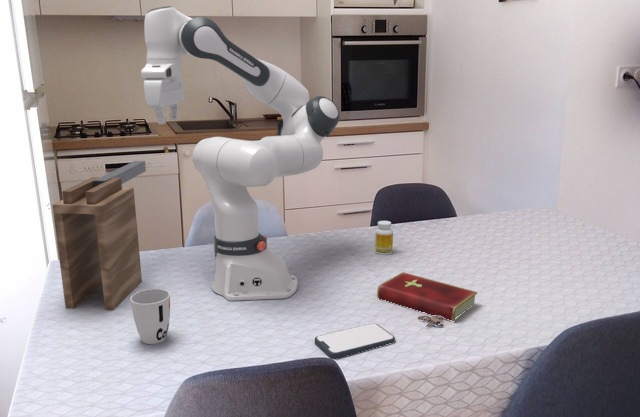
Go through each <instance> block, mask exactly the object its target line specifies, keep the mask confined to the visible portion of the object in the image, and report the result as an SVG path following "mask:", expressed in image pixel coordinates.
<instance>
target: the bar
mask: <svg viewBox="0 0 640 417" xmlns="http://www.w3.org/2000/svg"><path fill="white" fill-rule="evenodd" d="M146 170H147V169H146V161H145V160H134V161H132V162H129V163H128V164H125V165H124V166H121V167H119V168H117V169H115V170H113V171H111V172H109V173H106V174H104V175H102V176H101V177H100V178H98V179H96V180H94V187H96V186H98V185H100V184H102V183H104V182H106V181H108V180H110V179H112V178H121V183H122V185H123V184H124V183H126V182H128V181H131V180H132V179H134V178H136V177H138V176H139V175H142V174H143V173H145V172H146Z"/></svg>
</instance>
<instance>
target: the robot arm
mask: <svg viewBox="0 0 640 417" xmlns="http://www.w3.org/2000/svg"><path fill="white" fill-rule="evenodd" d="M144 15H145V16H144V25H143V27H144V28H143V31H144V33H143V34H144V42H145V43H144V44H145V46H146V58H145V60H146V64H145V66H144V67H143V68H142V69H141V71H140V72H141V75H140V76H141V78H142V79H144V80H143V91H144V97H145V104H146V105H147V108H148V109H154V114H155V116H156V120H157V124H158V125H164V124H166V123H167V121H166V120H167V119H166V116H165V113H164V111H165V107H168V106H169V107H170V110H169V120H170V121H175V120H178V112H179V103H183V102H184V100H185V92H184V85H183V79H182V61H181V56H182V55H186V56H189V57H193V58H198V59H206V60H212V61H215V62H217V63H219V64H220V65H222V66H223V67H225V68H226V69H228V70H229V71H231V72H232V73H234V74H236V75H237V76H239V77H240V78H241V79H242V80H243V82H244V86H245V90H246V91H247V92H249V93H250V95H251V96H253V97H254V98H255V99H256V100H258V101H259V102H260V103H263V104H264V105H266V106H268V107H269V108H271V109H274V110H275V111H277V112H278V114H280V115H281V118H282V119H280V120H278V121H277V122H276V128H277V129H276V133H275V135H272V136H264V137H262V138H261V139H260V140H259V139H258V140H247V139H246V140H245V139H238V138H230V137H224V136H212V137H211V136H210V137H206V138H204V139H202V140H200V141H199V142H197V144H196V145H195V147H194V149H193V152H192V163H193V167H194V168H195V169H196V170H197V172H198V173H199V174H200V176H201V177H202V179H203V181H204V183H205V185H206V188H207V190H208V194H209V196H210V199H211V203H212V209H213V216H214V228H215V230H214V231H215V235H214V236H213V237H214V238H213V251H214V256H215V265H214V266H215V268H214V269H215V270H214V277H213V282H212V286H211V289H212V291H213V292H214V293H216V294H218V295H220V296H222V297H224V298H225V300H227V301H230V302H231V301H232V302H233V301H254V300H256V301H257V300H276V299H277V300H278V299H287V298H289V297H292V296H293V295H294V294H295V293H296V291H297V290H298V287H299V282H298V278H297V276H295V275H294V274H290V271H289V266H288V263H287V261H286V260H285V259H284V258H283V257H282V256H280V255H278V254H276V253H275V252H274V251H273V250H271V249H270V248H268V242H267V240H268V238H267V237H268V236H267V234H265V235H262V234H261V233H260V232H259V231H260V230H259V228H260V227H259V207H258V205H257V202H256V201H255V199H254V198H253V196H251V194H250V193H249V192H250V191H248V189H247V188H259V187H266V186H268V185H270V184H271V183H272V182H273V181H274V180H275V179H277V178H283V177H292V176H296V175H301V174H304V173H307V172H310V171H312V170H314V169H316V168H318V167H319V166H320V164H321V163H322V161H323V156H324V150H323V147H322V144H321V142H322V141H323V140H324V139H326V137H329V136H330V135H331V134H332V132H333V131H334V130H335V128H336V127H337V125H338V123H339V121H340V115H341V114H340V110H339V108H338V106H337V105H336V104H335V102H333V101H332V100H331V99H330V98H329V97H328V98H327V97H326V96H323V95H317V96H315V97H313V98H311V99H310V93H309V92H310V91H308V89H307V88H306V87H305V86H304V85H303V84H302V83H301V82H300V81H298V79H296V78H295V77H293V75H291V74H289V73H288V72H287V71H285V70H284V69H282V68H280V67H278V66H277V65H275V64H273V63H270V62H267V61H266V60H262V59H259V58H257V57H254V56H252V55H251V54H250V53H248V52H247V51H245V50H244V49H243V48H241V47H239V46H238V45H236V44H235V43H233V42H232V41H231V40H229V39H228V38H227V37H226V36H225V34H224V32H223V31H222V30H221V28H220V27H219V26H218V24H217V23H216V22H215V21H214V20H213V19H210V18H208V17H204V16H197V17H193V18H192V17H191V16H187V15H185V14H183V13H182V12H180V11H178V10H177V9H176V8H175V7H173V6H172V5H171V6H170V5H168V6H161V7H159V6H158V7H155V8H152V9H150V10H148V11H147V12H146V14H144Z"/></svg>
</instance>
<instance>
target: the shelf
mask: <svg viewBox="0 0 640 417" xmlns="http://www.w3.org/2000/svg"><path fill="white" fill-rule="evenodd" d="M98 178H100V177H99V176H98V177H95V176H93V177H90V178H88V179H86V180H83V181H81V182H79V183H77V184H75V185H73V186H70V187H69V188H67V189H64V190H62V193H61V194H62V200H60V201H58V202H56V203H55V202H54V203H53V204H52V212H53V213H52V214H53V220H54V227H55V237H56V243H57V251H58V260H59V268H60V275H61V283H62V284H61V285H62V290H63V296H64V306H65V307H64V308H65V309H71V310H72V309H75V308H76V307H77V306H78V305H80V304H81V303H82V302H83V301H84V300H86V299H87V298H88V296H90V295H91V294H92V293H93V292H94V291H96V290H97V289H98V288H99V287H101V286H102V292H103V293H102V294H103V301H104V309H105V311H114V310H115V309H116V308H117V307H118V306H119V305H120V304H121V303H122V302H123V301H125V299H126V298H127V297H128V296H129V295H130V294H131V293H132V292H134V290H135V289H136V288H137V287H138V286H139V285H140V284H141V283H142V282H143V278H142V266H141V256H140V247H139V246H140V244H139V233H138V232H139V231H138V220H137V212H136V211H137V210H136V202H135V201H136V200H135V189H134V187H123V186H122V185H123V184H122V183H121V178H112V179H110V180H108V181H106V182H104V183H102V184H100V185H98V186H96V187H94V180H96V179H98Z"/></svg>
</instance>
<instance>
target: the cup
mask: <svg viewBox="0 0 640 417" xmlns="http://www.w3.org/2000/svg"><path fill="white" fill-rule="evenodd" d="M130 306H131V311H132V316H133V320H134V323H135V324H134V325H135V327H136V330H137V333H138V335H139V338H140V339H141V341H142V343H144V345H145V344H146V345H157V344H160V343H162V342H164V341H165V340H166V339H167V336H168V330H169V327H170V318H171V293H170V292H169V290H167V289H164V288H162V289H161V288H148V289H143V290H140V291H137V292H135V293H133V294H132V295H131V296H130Z"/></svg>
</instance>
